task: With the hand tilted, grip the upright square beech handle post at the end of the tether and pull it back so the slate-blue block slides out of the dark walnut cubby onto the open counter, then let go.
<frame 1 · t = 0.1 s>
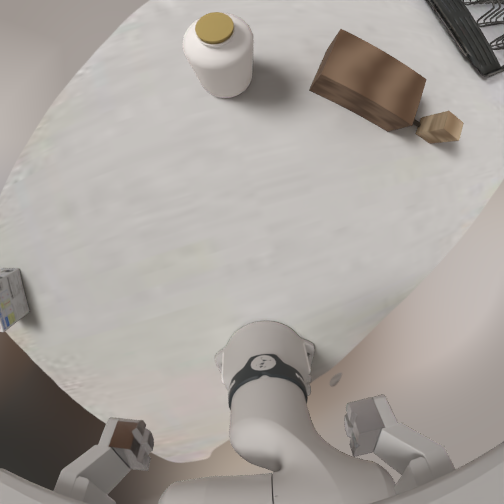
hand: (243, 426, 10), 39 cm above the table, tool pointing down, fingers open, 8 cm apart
potion bottle: (226, 76, 41), on the table
dish rack: (481, 14, 34), on the table
cubby: (361, 90, 41), on the table
light bulb box: (16, 289, 51), on the table
tethered block: (345, 82, 41), on the table
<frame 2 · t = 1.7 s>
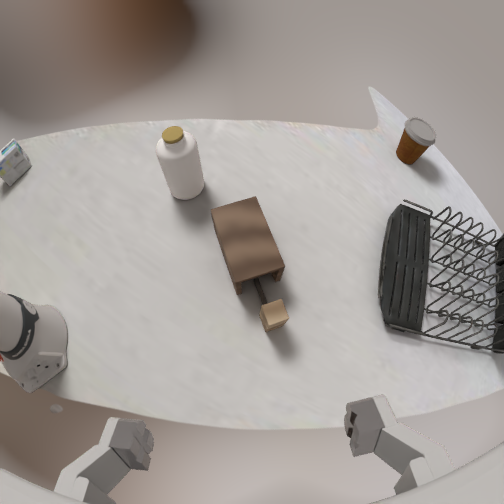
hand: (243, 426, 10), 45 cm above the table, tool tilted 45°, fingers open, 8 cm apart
potion bottle: (187, 187, 67), on the table
disposable coffee cup: (405, 156, 74), on the table
dish rack: (451, 283, 59), on the table
cubby: (247, 256, 61), on the table
light bulb box: (19, 172, 71), on the table
tethered block: (242, 243, 62), on the table
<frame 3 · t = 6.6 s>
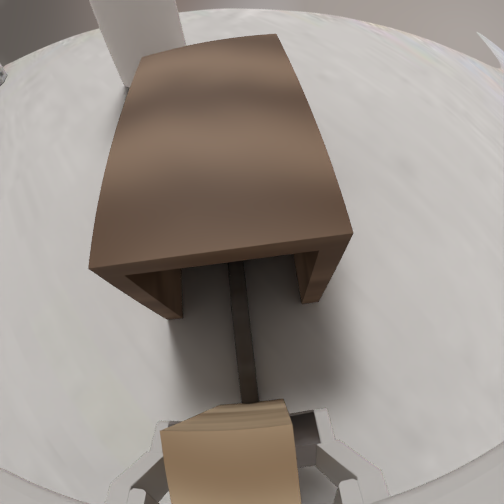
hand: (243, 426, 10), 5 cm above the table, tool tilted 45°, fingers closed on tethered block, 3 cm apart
potion bottle: (157, 74, 29), on the table
cubby: (231, 208, 20), on the table
tethered block: (228, 174, 21), on the table, touching gripper
when the fingers open (5 cm above the table, at t = 12.2 s): tethered block stays where it is, on the table.
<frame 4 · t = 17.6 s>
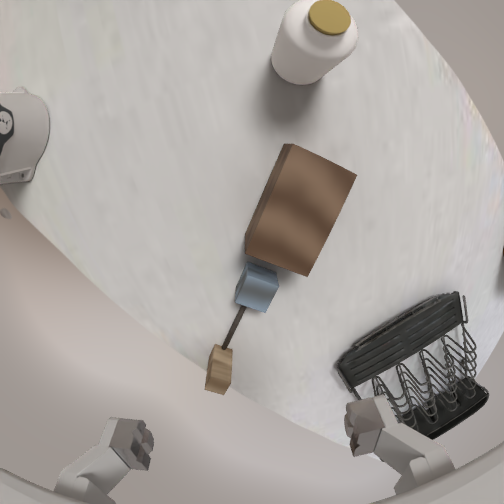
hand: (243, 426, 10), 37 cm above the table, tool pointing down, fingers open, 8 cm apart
potion bottle: (298, 61, 37), on the table
dish rack: (412, 370, 59), on the table
cubby: (290, 203, 44), on the table
tethered block: (255, 280, 49), on the table
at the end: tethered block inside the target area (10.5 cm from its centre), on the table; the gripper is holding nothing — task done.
